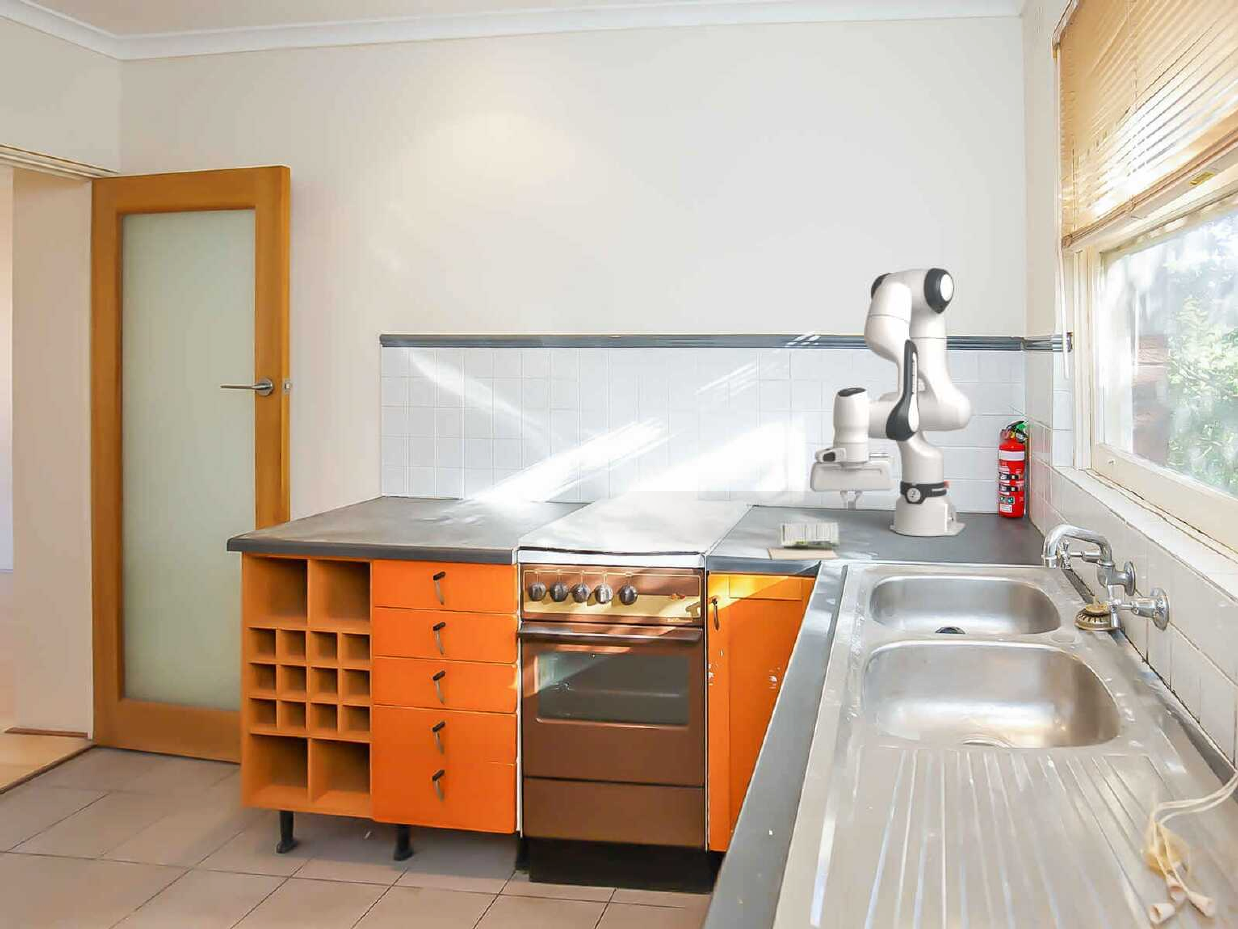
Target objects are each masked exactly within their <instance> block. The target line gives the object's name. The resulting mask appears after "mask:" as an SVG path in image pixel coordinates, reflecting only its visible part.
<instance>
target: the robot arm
mask: <svg viewBox="0 0 1238 929" xmlns="http://www.w3.org/2000/svg"><path fill="white" fill-rule="evenodd" d="M953 279H954V278H953V276H952V275H951V274H950V273H949V272H948V271H947V270H946V269H944V268H937V267H936V268H935V267H932V268H914V269H913V268H912V269H908V270H901V271H896V272H893V273H891V272H888V273H884V274H881V275H878V277H877V278H876V279H874V281H873V283H872V284H871V288H870V299H871V302H870V305H869V307H868V311H867V315H866V320H865V325H864V330H863V331H864V332H863V338H864V342H865V345H866V346H867V348H869V350H870V351H871V352H872V353H874V354H875V355H877V356H879V357H880V358H882V359H885V360H887V361H889V362H891V363H894V364H895V365H896V367H897V391H892V392H891V391H890V392H886V393H883V394H882V395H881V396H880V398H879V399H877V400H875V399H872V398H870V397H869V395H868V391H867V389H865V388H863V387H849V388H844V389H843V388H842V389H841V390H839V391H838V392H836V395H835V398H834V404H833V414H832V415H833V416H832V417H833V419H832V420H833V422H832V425H833V429H834V437H833V441H832V442H833V444H832V446H831V447H827V448H825V449H821V450H818V451H816V452H815V453H814V459H815V462H814V463H813V464H812V466H811V470H810V474H809V475H810V479H809V488H810V489H811V490H812V491H813V492H814V493H815V492H816V493H817V492H819V493H820V492H823V493H824V492H839V494H840V495H839V496H841V498H842V500H843V502H844V510H858V508H859V507H858V505H859V504H858V503H859V502H860V500H861V499H862V496H863V492H875V491H876V492H881V491H883V492H884V491H886V492H887V491H891V490H892V489H893V487H894V478H893V471H892V470H893V469H894V461H895V460H894V458H893V457H892V455H890V454H888V453H885V452H883V453H870V439H877V440H890V441H895V442H896V444H897V446H898V449H899V453H900V459H901V460H900V461H901V462H900V463H901V481H900V483H899V484H900V485H899V493H900V496H899V498H898V499H897V500H896V501H895V506H894V507H895V508H894V520H893V521H894V522H893V524H892V525H889V530H891V531H893V532H896V533H897V534H901V535H906V536H915V537H937V536H938V537H940V536H942V537H943V536H956V535H958V534H960V532H961V531H962V530H963V529H964V528H965V527H966V526H965V525H966V524H965V523H963V522H960V521H959V522H958V521H957V508H956V507H957V506H955V505H954V503H953V502H952V501H951V500H950V498H949V497H948V496H947V493H948V492H947V489H949V488H950V481H948V480H946V481H945V480H944V476H945V457H944V454H943V452H942V451H941V450H940V448H938V447H937V446H935V445H934V444H932V443H930V442H928V441H927V440H926V439H925V437H924V434H923V432H952V431H958V430H963V429H965V428H967V426H968V425H969V423H970V421H971V420H972V416H973V413H974V412H973V410H974V408H973V405H972V402H971V400H970V398H969V397H968V396H967V395H966V393H964V392H963V391H961V389H959V388H958V387H957V385H956V384H955V383H954V381H953V379H952V378H951V376H950V373H949V369H948V368H949V367H948V358H947V356H948V355H947V350H948V347H947V346H948V344H947V342H948V338H947V337H948V332H947V330H948V327H947V326H948V325H947V318H946V317H947V316H946V308H947V307H948V306H949V305H950V303H951V301H952V299H953V298H954V297H953V296H954V293H955V292H954V291H955V284H954V280H953ZM919 380H921V381H922V382H923V385H924V386H923V387H924V390H919ZM848 492H854V495H855V496H856V497H855V498H854V500H852V501H851V500H850V501H849V500H848V499H847V497H846V496H848Z"/></svg>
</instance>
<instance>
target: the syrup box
mask: <svg viewBox="0 0 1238 929" xmlns="http://www.w3.org/2000/svg"><path fill="white" fill-rule="evenodd" d="M779 526H780V527H779V539H780V540H779V541H780V545H781V547H831V548H832V547H840V530H839V528H840V527H839V524H838V522H837V521H836V522H807V523H806V522H804V523H803V522H801V523H797V522H796V523H780V525H779Z"/></svg>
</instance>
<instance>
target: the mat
mask: <svg viewBox="0 0 1238 929" xmlns="http://www.w3.org/2000/svg"><path fill="white" fill-rule="evenodd" d="M767 550H768V553H769V556H770V558H771V560H772V561H783V560H784V561H789V560H790V561H792V560H793V561H794V560H795V561H797V560H802V561H803V560H838V559H839V556H838V555H837V554H836V552H835V551H834V550H833V549H832V546H831V547H783V546H780V547H778V546H776V547H774V546H772V547H770V546H769V547H768V546H767Z"/></svg>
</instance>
